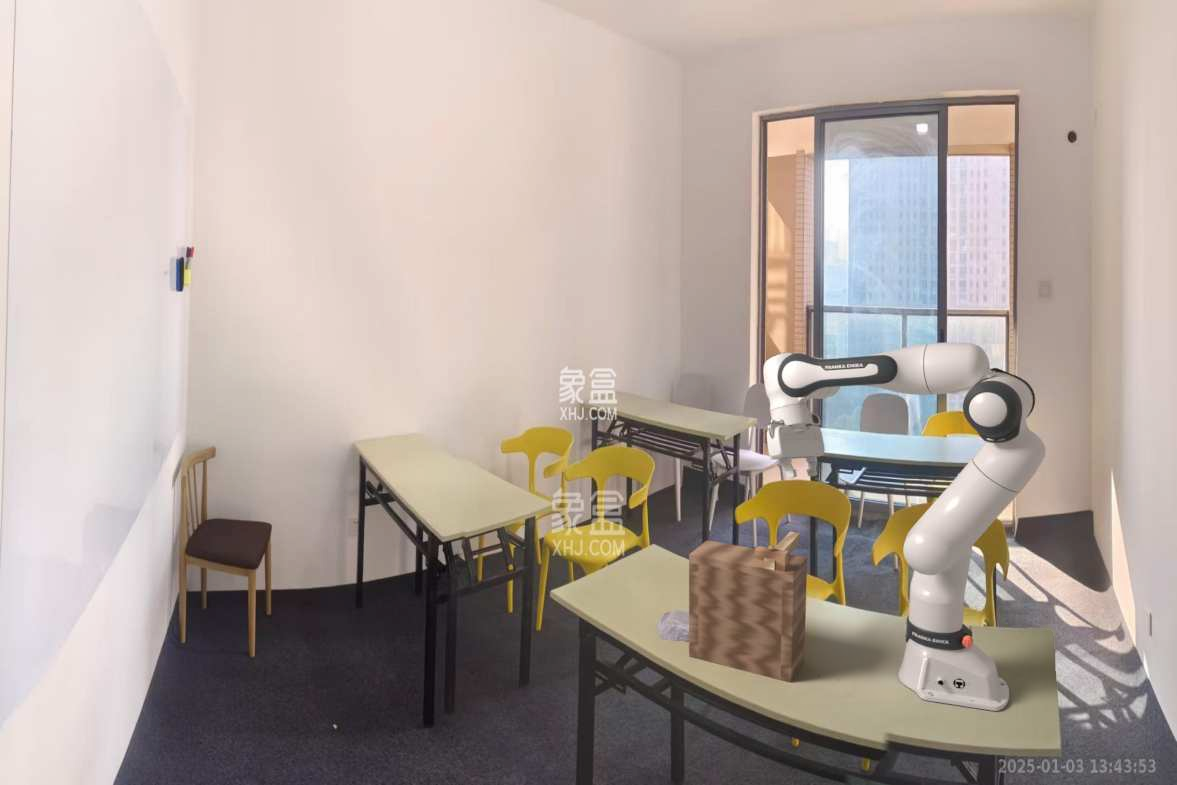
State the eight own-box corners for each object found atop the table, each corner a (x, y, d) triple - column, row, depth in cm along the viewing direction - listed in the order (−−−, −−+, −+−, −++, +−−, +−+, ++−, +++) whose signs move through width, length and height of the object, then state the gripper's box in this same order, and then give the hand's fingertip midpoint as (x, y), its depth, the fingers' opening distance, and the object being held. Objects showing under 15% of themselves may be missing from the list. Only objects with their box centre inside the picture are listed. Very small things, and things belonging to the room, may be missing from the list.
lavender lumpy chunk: (658, 647, 199) (697, 642, 196) (654, 629, 198) (693, 624, 196) (663, 627, 210) (700, 623, 208) (660, 610, 210) (697, 606, 208)
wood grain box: (804, 661, 186) (807, 557, 182) (790, 682, 177) (793, 573, 173) (706, 637, 199) (706, 540, 195) (689, 656, 190) (689, 554, 186)
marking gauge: (809, 544, 191) (809, 524, 190) (784, 572, 174) (784, 550, 173) (780, 539, 194) (781, 520, 194) (754, 566, 177) (754, 545, 177)
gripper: (778, 416, 179) (791, 476, 176) (823, 417, 194) (835, 472, 191) (755, 422, 183) (767, 481, 181) (800, 423, 198) (812, 477, 195)
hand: (802, 476), depth 186 cm, fingers open, 8 cm apart
